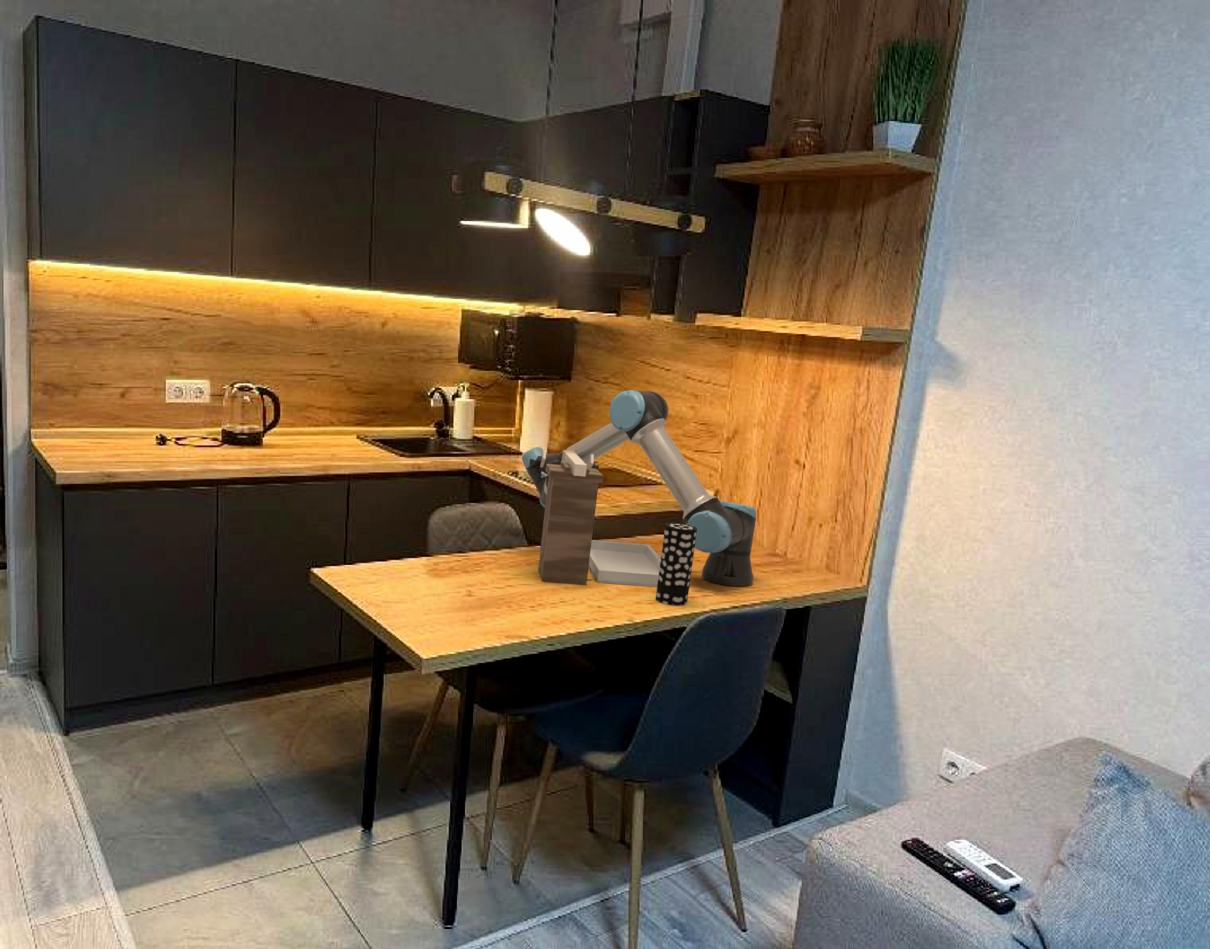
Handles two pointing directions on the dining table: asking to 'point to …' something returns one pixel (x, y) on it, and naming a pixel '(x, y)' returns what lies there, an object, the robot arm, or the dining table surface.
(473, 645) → the dining table surface
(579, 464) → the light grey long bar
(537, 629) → the dining table surface
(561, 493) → the stand
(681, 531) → the spotted tube
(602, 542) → the tray
